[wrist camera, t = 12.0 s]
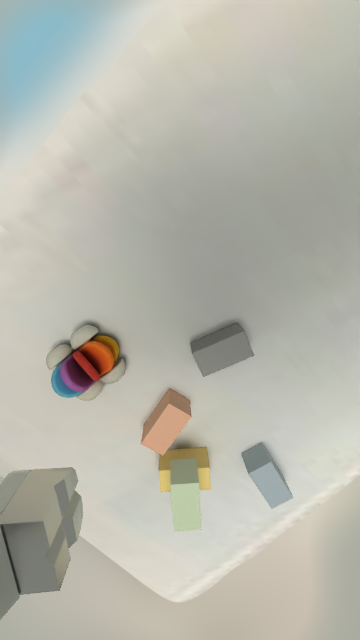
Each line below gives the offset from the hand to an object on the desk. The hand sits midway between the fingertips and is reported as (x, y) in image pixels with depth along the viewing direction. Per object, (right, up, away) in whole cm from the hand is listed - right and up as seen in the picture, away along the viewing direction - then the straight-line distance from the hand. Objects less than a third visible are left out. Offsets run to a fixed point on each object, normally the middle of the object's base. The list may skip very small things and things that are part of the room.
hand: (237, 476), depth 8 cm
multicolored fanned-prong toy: (-14, -1, +35) cm, 38 cm away
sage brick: (-1, -18, +35) cm, 39 cm away
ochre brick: (-1, -17, +39) cm, 43 cm away
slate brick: (+11, -18, +40) cm, 45 cm away
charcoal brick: (+4, +1, +35) cm, 35 cm away
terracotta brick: (-3, -10, +37) cm, 39 cm away
